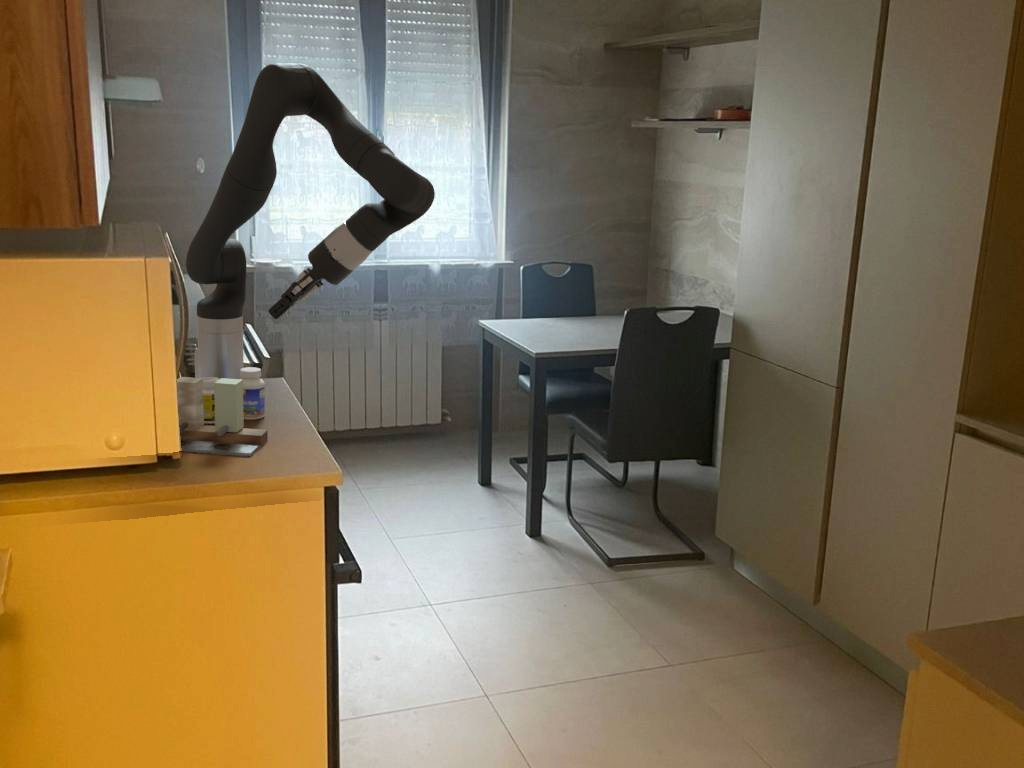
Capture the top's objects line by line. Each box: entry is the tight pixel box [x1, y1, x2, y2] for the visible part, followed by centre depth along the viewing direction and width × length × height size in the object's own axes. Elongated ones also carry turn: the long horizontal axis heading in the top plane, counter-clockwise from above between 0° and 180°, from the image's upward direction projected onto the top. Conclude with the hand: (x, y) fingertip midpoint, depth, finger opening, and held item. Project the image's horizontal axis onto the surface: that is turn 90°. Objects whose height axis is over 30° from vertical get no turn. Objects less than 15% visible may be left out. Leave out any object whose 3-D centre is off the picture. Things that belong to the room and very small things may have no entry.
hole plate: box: [181, 439, 261, 458], centre depth 171 cm, size 16×5×1 cm, turn 86°
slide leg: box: [214, 378, 245, 436], centre depth 173 cm, size 4×7×9 cm, turn 176°
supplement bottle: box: [203, 377, 219, 425], centre depth 187 cm, size 5×5×8 cm
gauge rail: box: [176, 376, 268, 447], centre depth 174 cm, size 16×7×11 cm, turn 86°
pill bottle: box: [240, 366, 266, 421], centre depth 191 cm, size 5×5×10 cm
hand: (272, 314), depth 174 cm, fingers closed
